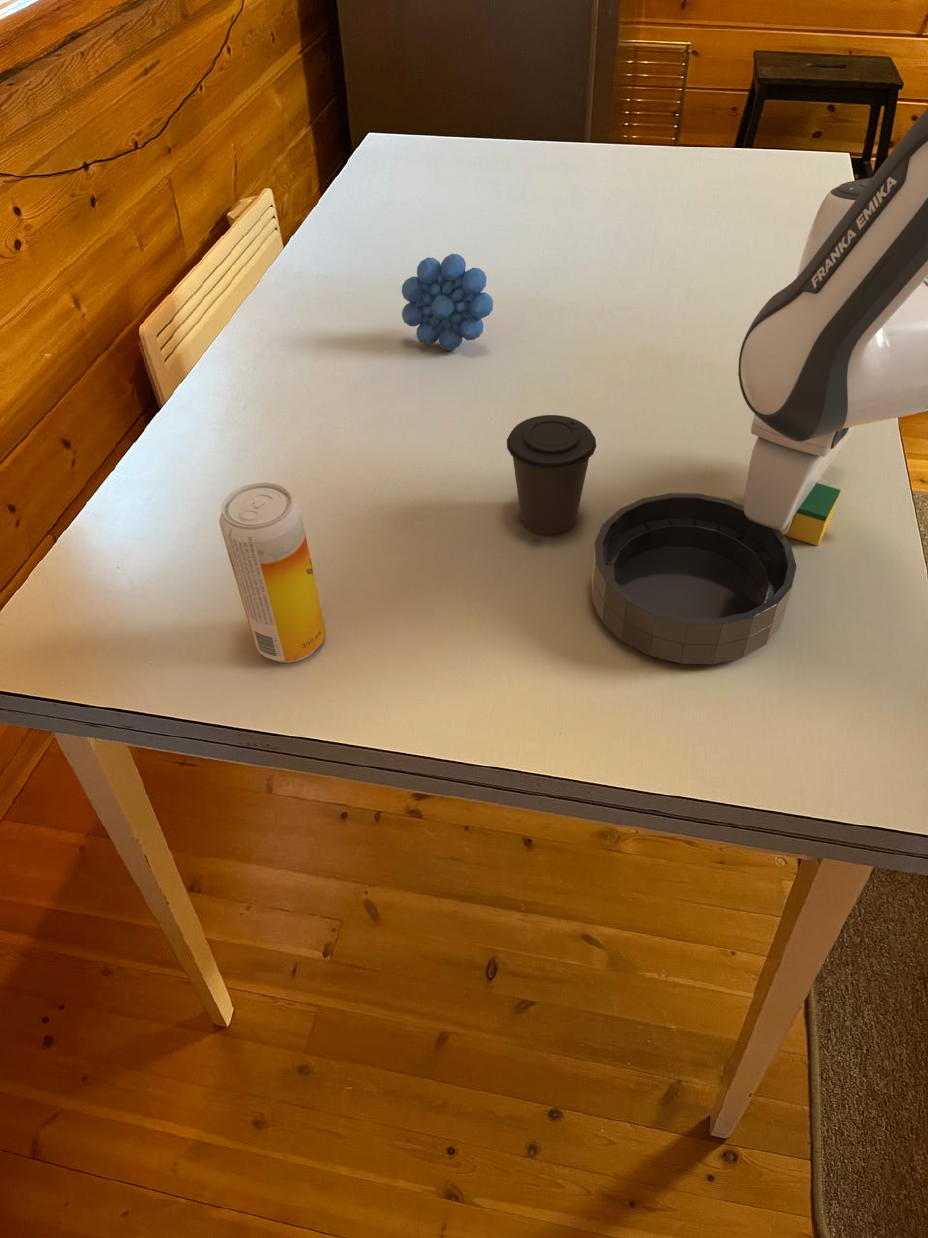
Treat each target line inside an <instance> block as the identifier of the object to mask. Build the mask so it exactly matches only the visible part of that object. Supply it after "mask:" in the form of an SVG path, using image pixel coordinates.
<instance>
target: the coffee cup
mask: <svg viewBox="0 0 928 1238" xmlns="http://www.w3.org/2000/svg"><path fill="white" fill-rule="evenodd" d="M596 448H597V440H596V437H595V436H594V433H593V431H592V430H591V429H590V428H589V426H587V425H586V424H585V423H583V422H582V421H580V420H578V419H575V418H573V417H570V416H565V415H559V414H544V415H543V414H541V415H537V416H533V417H530V418H527V419H525V420H522V421H521V422H519V423H518V424H517V425H515V427H513V429H512V430H511V431H510V433H509V435H508V437H507V439H506V449H507V451H508V452H509V454H510V456H511V457H512V461H513V469H514V476H515V483H516V491H517V492H516V493H517V498H518V505H519V514H520V522H521V524H522V526H523V527H524V528H525V529H526V530H527V531H528V532H530V533H532V534H535V535H537V536H540V537H541V536H542V537H556V536H557V537H558V536H561V535H564V534H566V533H568V532H570V531H571V530H572V529H573V528H574V527H575V525H576V522H577V520H578V519H577V518H578V513H579V509H580V504H581V499H582V495H583V491H584V486H585V485H584V484H585V480H586V476H587V471H588V465H589V460H590V458H591V457H592V456H593V455H594V453H595V450H596Z"/></svg>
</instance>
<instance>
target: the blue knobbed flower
mask: <svg viewBox="0 0 928 1238" xmlns="http://www.w3.org/2000/svg"><path fill="white" fill-rule="evenodd" d="M466 267H467V263H466V261H465V258H464V257H463V256H461V254H458V253H450V254H448V255H447V256H446V257H444V258H443V260H442V261H441V262H440V261H439V260H438V259H436V258H434V257H426V258H424V259H422V260H421V261H420V262H419V263H418V265H417V267H416V276H411V277H409V278H407V279H406V280H404V282H403V284H402V285H401V294H402V297H403V299H404V300H405V301H407V302H408V303H406V304H405V305H404V307H403V308H402V311H401V319H402V320H403V323H404V324H406V325H407V326H409V327H417V328H416V339H417V340H418V342H419V343H421V344H422V345H424V346H431V345H432V344H435V343H436V342H437V341H438V344H439V346H440V347H441V348H442V349H444V350H445V351H454V350H456V349H458V348H460V346H461V345H462V343H463V339H464V340H466V341H474V340H476V339H478V338H480V337H481V335H482V334H483V332H484V321H483V320H482V319H484V318H486V317H488V316H490V314H491V313H492V311H493V310H494V299H493V298H492V297H493V296H491V295H490V294H489V293H488V292H484V290H485V288H486V286H487V276H486V273H485V272H484V271H483V270H482V269H481V268H478V267H471V268H470V269H466Z"/></svg>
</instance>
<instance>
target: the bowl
mask: <svg viewBox="0 0 928 1238" xmlns="http://www.w3.org/2000/svg"><path fill="white" fill-rule="evenodd" d="M797 568H798V567H797V562H796V558H795V555H794V551H793V548H792V544H791V543H790V542H789V540H788V539H787V538H786V536H785V535H783V534H782V533H781V531H780V530H775V529H772V528H769V527H766V526H763V525H760V524H758V523H755V522H753V521H751V520H749V519H747V517H746V516H745V513H744V510H743V504H741V503H739V502H736V501H733V500H731V499H728V498H724V497H720V496H719V497H718V496H714V495H710V494H705V493H697V492H668V493H663V494H657V495H652V496H647V497H643V498H640V499H637V500H635V501H633V502H631V503H629V504H626V505H625V506H623V507H620V508H619V509H617V510H616V511H615V512H614V513H613V514H612V515H611V516H610V517H609V518H607V520H605V521H604V522H603V523H602V525H601V527H600V529H599V531H598V534H597V537H596V539H595V541H594V546H593V557H592V571H591V602H592V604H593V607H594V609H595V611H596V613H597V615H598V616H599V618H600V621H601V622H602V624H604V626H605V627H607V628H608V630H609V631H611V633H612V634H614V635H615V636H616V637H617V638H618V639H619V640H620V641H621V642H623V643H625V644H627V645H628V646H630V647H632V648H634V649H636V650H638V651H640V652H642V653H643V654H646V655H647V656H650V657H654V658H657V659H661V660H665V661H668V662H669V661H670V662H674V663H678V664H682V665H683V664H689V665H691V664H692V665H716V664H720V663H726V662H729V661H733V660H739V659H743V658H745V657H746V656H749V655H750V654H752V653H754V652H755V651H757V650H759V649H761V648H762V647H764V646H766V645H767V644H768V643H769V641H770V640H771V639H772V638H773V637H774V636H775V634H776V633H777V632H778V630H779V629H780V628H781V626H782V623H783V619H784V616H785V613H786V609H787V605H788V603H789V600H790V596H791V592H792V589H793V586H794V581H795V576H796V572H797Z"/></svg>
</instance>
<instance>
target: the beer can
mask: <svg viewBox="0 0 928 1238" xmlns="http://www.w3.org/2000/svg"><path fill="white" fill-rule="evenodd" d="M220 509H221V513H220V516H219V519H218V520H219V522H218V523H219V527H220V530H221V531H220V532H221V535H222V537H223V540H224V544H225V548H226V551H227V555H228V558H229V562H230V565H231V568H232V569H231V570H232V571H233V575H234V578H235V582H236V586H237V589H238V591H239V596H240V600H241V603H242V606H243V610H244V613H245V616H246V620H247V624H248V627H249V630H250V633H251V637H252V641H253V645H254V647H255V649H256V651H257V652H258V653H259V654H260V655H262V657H265V658H267V659H269V660H272V661H274V662H277V663H283V664H289V663H290V664H291V663H296V662H299V661H302V660H305V659H307V658H308V657H310V656H311V655H313V653H314V652H315V651H316V650H318V648H319V647H320V646H321V645H322V643H323V641H324V639H325V636H326V625H325V621H324V616H323V612H322V611H323V610H322V606H321V603H320V596H319V592H318V587H317V582H316V578H315V573H314V568H313V564H312V558H311V554H310V548H309V544H308V539H307V534H306V530H305V525H304V521H303V515H302V511H301V506H300V504H299V502H298V501H297V500H296V499H295V498H294V496H293V494H292V493H291V492H290V490H289V489H288V488H287V487H285V486H283V485H281V484H278V483H275V482H266V481H261V482H253V483H249V484H246V485H243V486H240V487H238V488H236V489H234V490H233V491H232V492H230V493H229V494H228V495H227V496H226V497H225V499H224V500H223V502H222V504H221V508H220Z"/></svg>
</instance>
